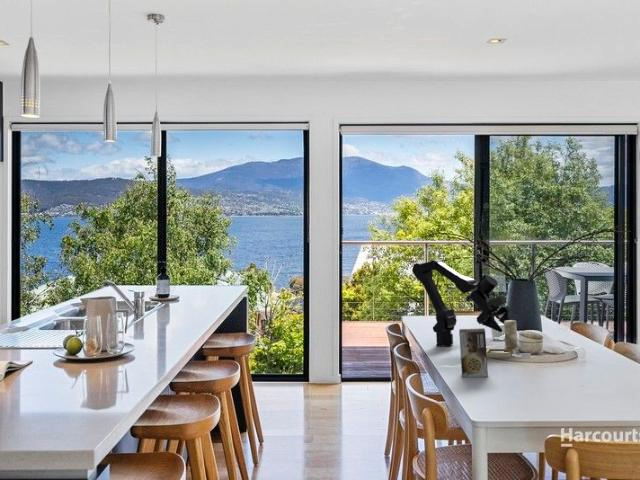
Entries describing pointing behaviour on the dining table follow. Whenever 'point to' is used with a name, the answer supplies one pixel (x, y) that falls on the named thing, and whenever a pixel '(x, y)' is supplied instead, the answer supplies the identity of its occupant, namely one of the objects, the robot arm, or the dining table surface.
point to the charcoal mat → (524, 356)
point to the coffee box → (473, 352)
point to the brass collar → (502, 355)
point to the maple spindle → (510, 334)
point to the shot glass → (497, 333)
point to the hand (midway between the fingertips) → (507, 329)
